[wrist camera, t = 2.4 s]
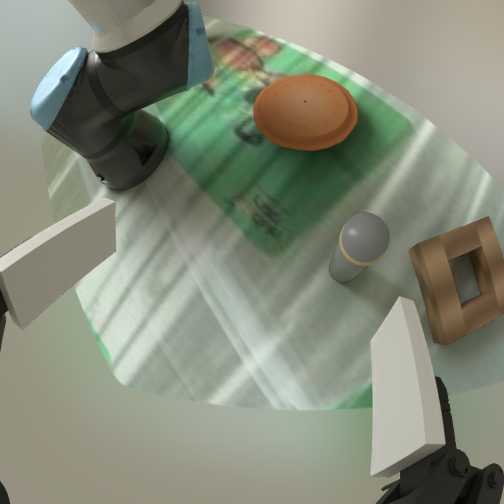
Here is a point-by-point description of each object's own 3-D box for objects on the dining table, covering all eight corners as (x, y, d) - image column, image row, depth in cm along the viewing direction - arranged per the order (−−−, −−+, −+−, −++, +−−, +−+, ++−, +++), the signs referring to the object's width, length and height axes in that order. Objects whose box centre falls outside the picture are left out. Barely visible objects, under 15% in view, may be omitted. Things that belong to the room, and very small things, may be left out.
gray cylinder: (324, 258, 36) (334, 219, 20) (351, 250, 35) (379, 205, 20) (333, 287, 35) (351, 268, 19) (361, 278, 34) (397, 252, 19)
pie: (375, 137, 38) (380, 118, 33) (288, 180, 39) (285, 163, 34) (319, 77, 42) (319, 57, 37) (241, 112, 43) (234, 93, 38)
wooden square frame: (408, 250, 33) (418, 243, 30) (475, 224, 32) (488, 216, 28) (434, 342, 30) (446, 345, 26) (499, 307, 28) (514, 305, 25)
